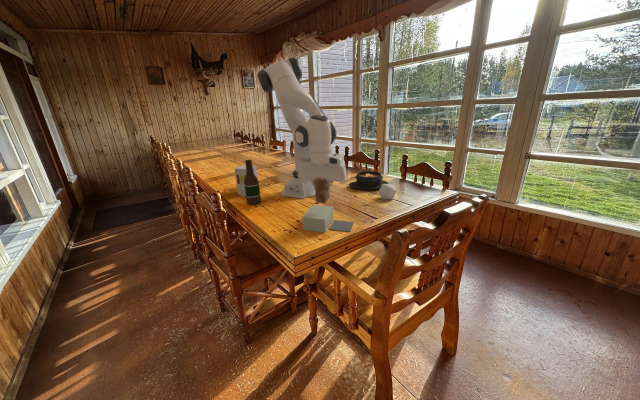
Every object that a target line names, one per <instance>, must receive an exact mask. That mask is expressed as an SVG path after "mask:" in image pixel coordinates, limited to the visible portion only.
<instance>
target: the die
mask: <svg viewBox="0 0 640 400" xmlns="http://www.w3.org/2000/svg"><path fill="white" fill-rule="evenodd" d="M396 193H397V189H396V188H395V186H394V185H393V183H389V184H382V186H381V187H380V188H379V190H378V194H379V196H380V197H381V199H382V200H383V201H384V200H387V201H388V200H393V199H394V198H395V195H396Z"/></svg>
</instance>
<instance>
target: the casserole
mask: <svg viewBox="0 0 640 400" xmlns="http://www.w3.org/2000/svg"><path fill="white" fill-rule="evenodd" d="M354 177H355V179H356V181H352V182H349V183H348V185H349V187H351V188H353V189H362V190H375V189H380V188H381V186H382V184H390V183H389V182H388V181H386V180H384V176H383V175H382V173H381V172H378V171H374V170H373V171H371V170H365V171H359V172H358V173H356V176H354Z"/></svg>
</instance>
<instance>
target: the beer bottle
mask: <svg viewBox="0 0 640 400" xmlns="http://www.w3.org/2000/svg"><path fill="white" fill-rule="evenodd" d="M244 163H245V165H246V177H245V179H244V186H245V192H246V196H245V197H246V203H247V204H248V205H249V206H256V205H259V204H260V203H261V202H262V197H261V190H260V182H259V180H258V179H257V177H258V176H257V177H256V176H255V175H254V172H253V167H252V166H253V160H252V159H245V160H244Z"/></svg>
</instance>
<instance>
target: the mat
mask: <svg viewBox="0 0 640 400" xmlns="http://www.w3.org/2000/svg"><path fill="white" fill-rule="evenodd" d="M330 225H331V226H329V228H328V229H329V231H337V232H346V233H347V232H349V233H351V232H352V228H353V225H354V221H347V220H338V219H334V220H332V222H331V224H330Z"/></svg>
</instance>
